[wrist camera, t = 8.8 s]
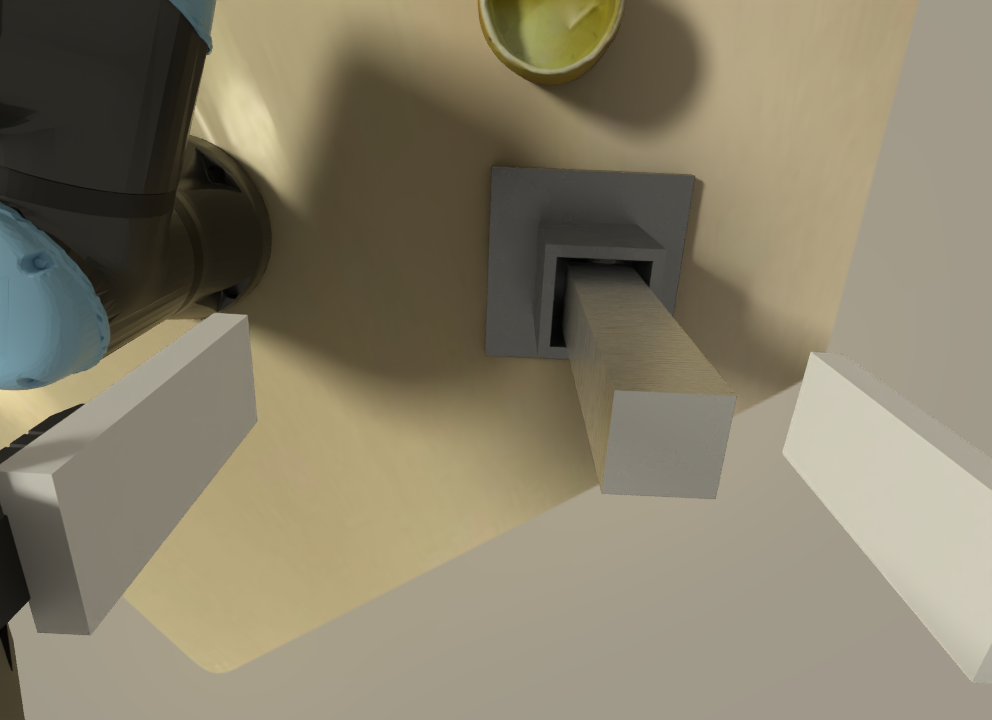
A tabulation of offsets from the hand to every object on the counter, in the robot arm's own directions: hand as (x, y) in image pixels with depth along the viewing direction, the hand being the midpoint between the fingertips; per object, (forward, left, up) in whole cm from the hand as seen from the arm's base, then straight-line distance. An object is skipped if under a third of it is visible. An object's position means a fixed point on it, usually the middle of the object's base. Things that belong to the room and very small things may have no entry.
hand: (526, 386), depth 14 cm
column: (+6, -6, -30) cm, 31 cm away
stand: (+6, -6, -38) cm, 39 cm away
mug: (+1, +14, -39) cm, 41 cm away
